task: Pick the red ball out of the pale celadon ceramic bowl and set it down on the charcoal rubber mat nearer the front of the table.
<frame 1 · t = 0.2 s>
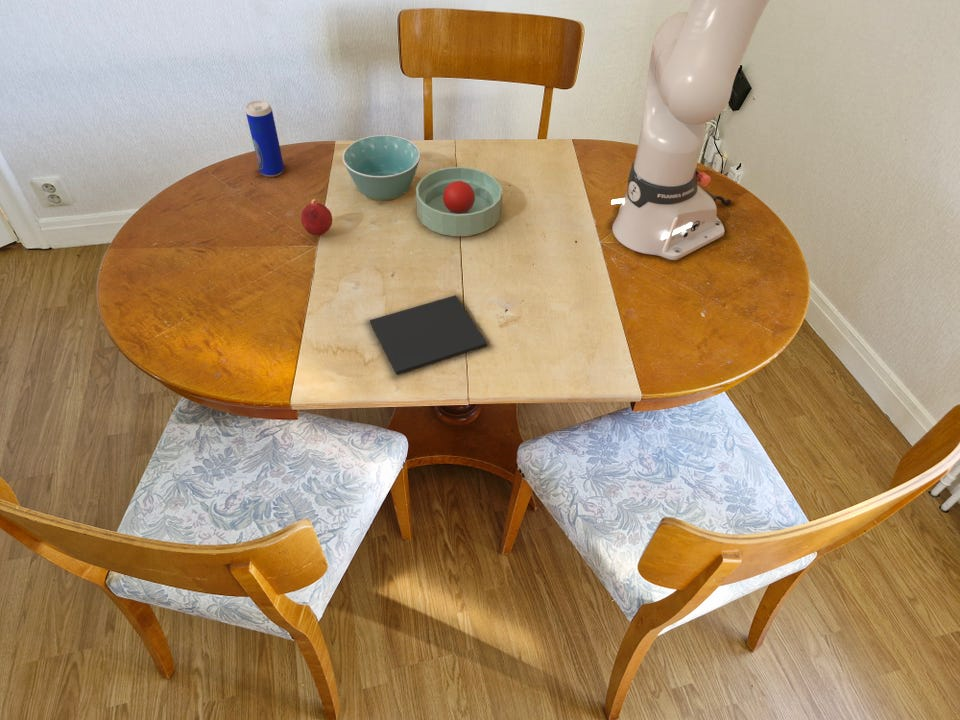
fruit bowl: (458, 213, 141), on the table
mat: (427, 334, 117), on the table
onion: (319, 235, 135), on the table
red ball: (458, 210, 140), point 1 cm above the table, touching fruit bowl
beverage can: (272, 172, 150), on the table
bowl: (384, 190, 146), on the table
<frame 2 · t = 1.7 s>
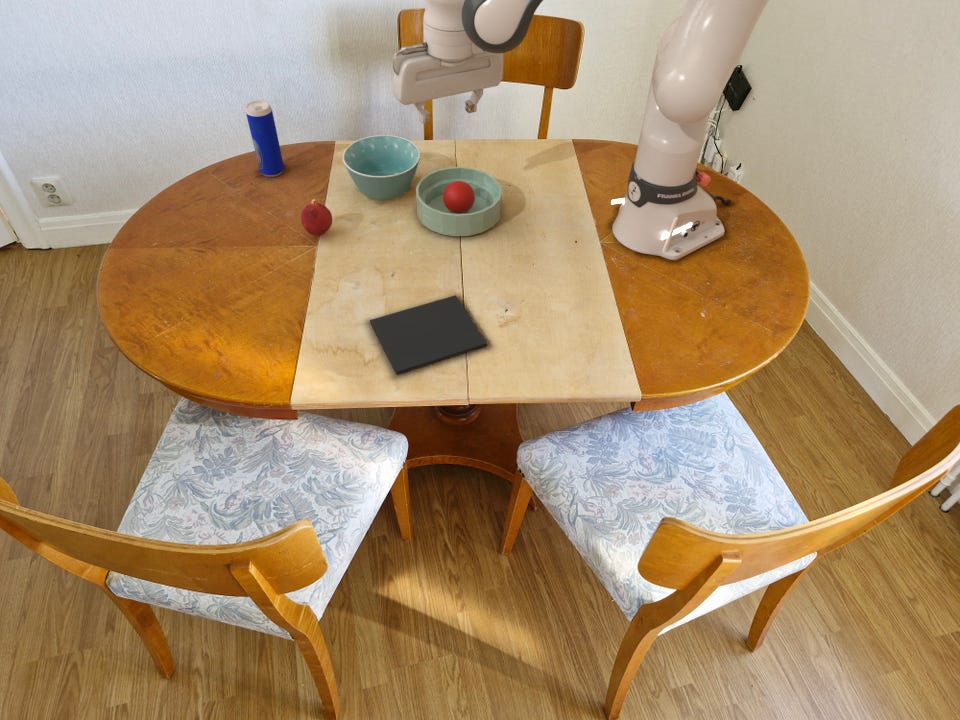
hand: (447, 116, 125), 21 cm above the table, tool pointing down, fingers open, 8 cm apart
nothing on the table moved.
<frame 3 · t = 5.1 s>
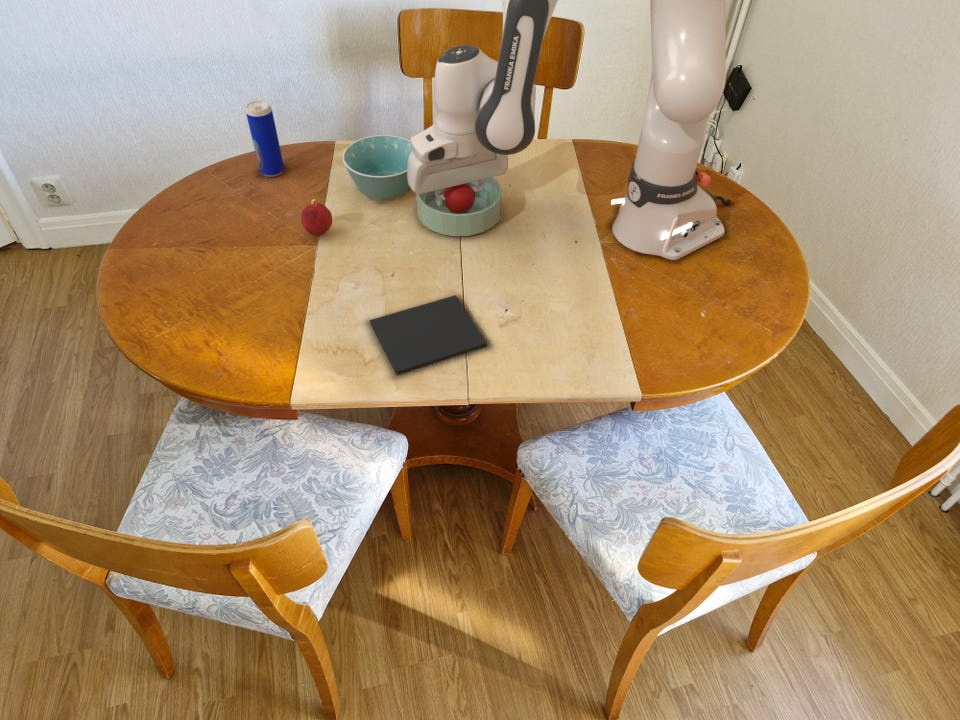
hand: (458, 200, 139), 3 cm above the table, tool pointing down, fingers closed on red ball, 6 cm apart
red ball: (459, 210, 140), point 1 cm above the table, touching fruit bowl, gripper
everything else where it was.
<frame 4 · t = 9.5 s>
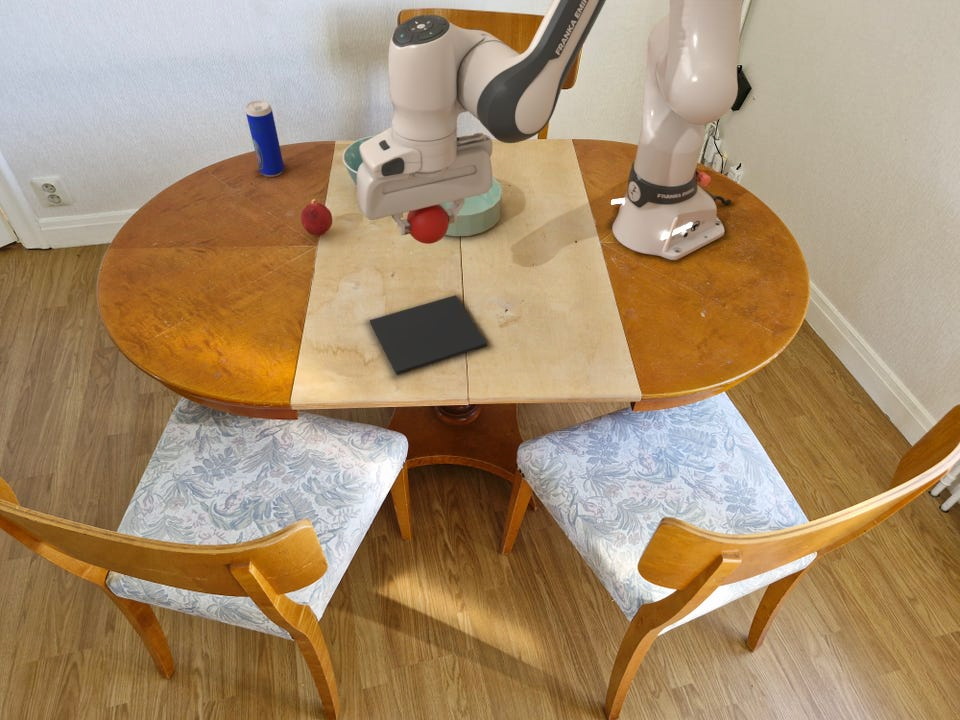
hand: (427, 226, 105), 19 cm above the table, tool pointing down, fingers closed on red ball, 6 cm apart
red ball: (428, 239, 107), point 17 cm above the table, touching gripper
everything else where it was.
when the fingers open (3 cm above the table, at t = 14.0 s): red ball stays where it is, resting on mat.
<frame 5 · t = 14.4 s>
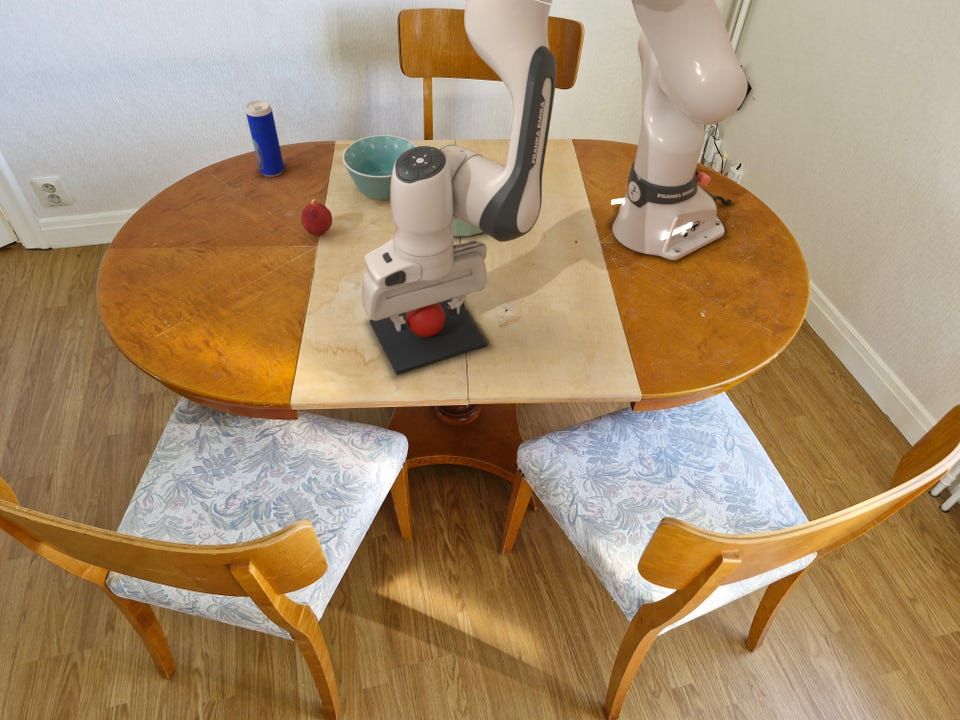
hand: (427, 320, 114), 3 cm above the table, tool pointing down, fingers open, 8 cm apart
red ball: (427, 330, 116), point 1 cm above the table, touching mat
everything else where it was.
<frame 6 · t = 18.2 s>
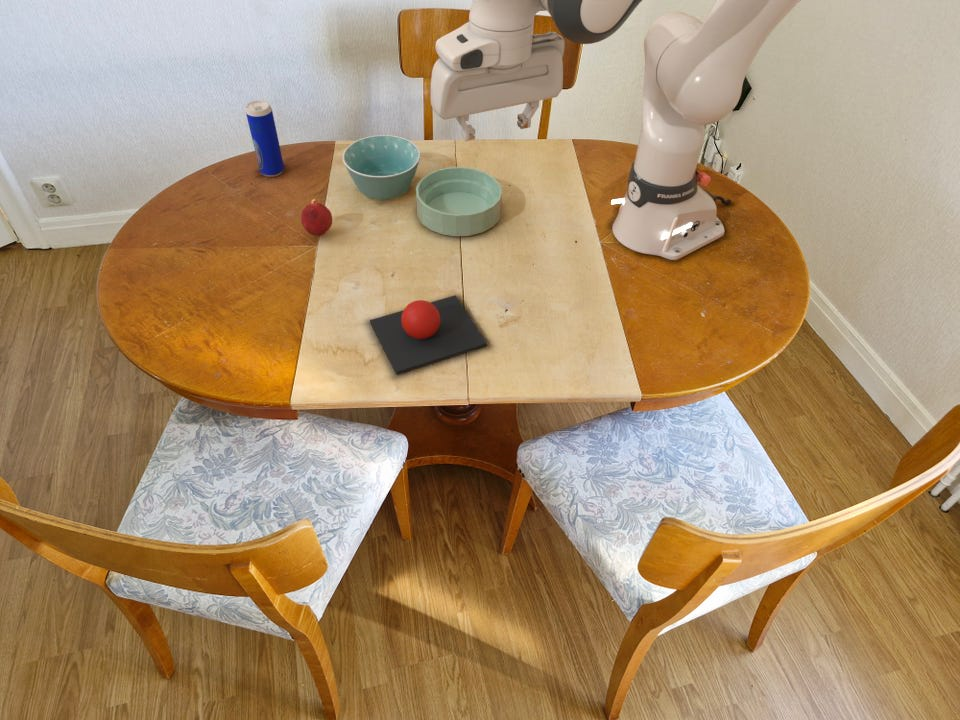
hand: (496, 132, 106), 29 cm above the table, tool pointing down, fingers open, 8 cm apart
red ball: (427, 330, 116), point 1 cm above the table, tilted 20°, touching mat
everything else where it was.
at the end: red ball inside the target area on the mat (0.1 cm from its centre), point 1.0 cm above the mat's base; red ball touching mat; the gripper is holding nothing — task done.
